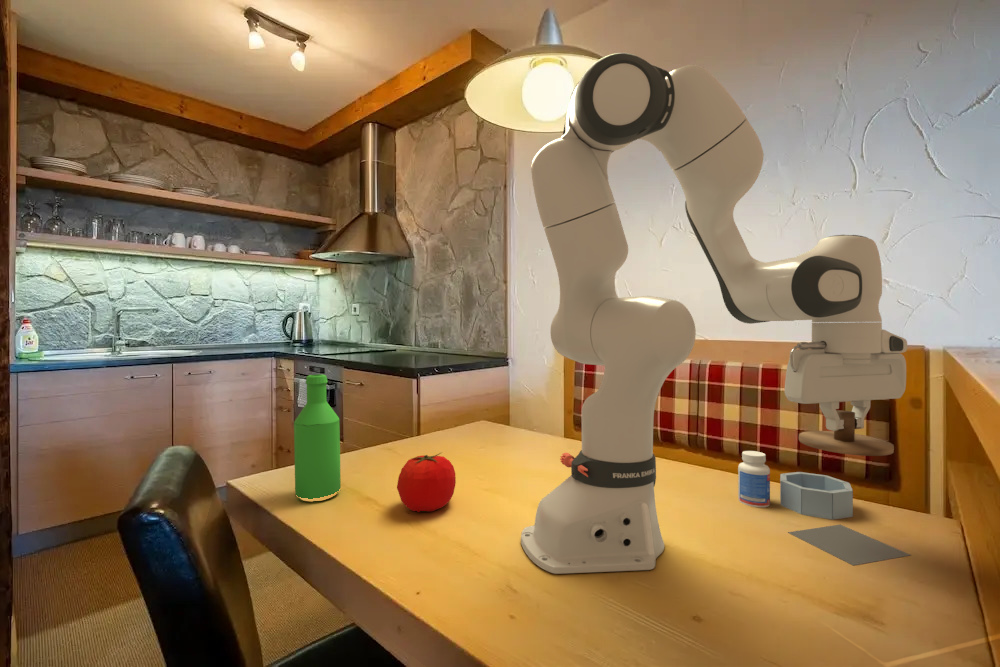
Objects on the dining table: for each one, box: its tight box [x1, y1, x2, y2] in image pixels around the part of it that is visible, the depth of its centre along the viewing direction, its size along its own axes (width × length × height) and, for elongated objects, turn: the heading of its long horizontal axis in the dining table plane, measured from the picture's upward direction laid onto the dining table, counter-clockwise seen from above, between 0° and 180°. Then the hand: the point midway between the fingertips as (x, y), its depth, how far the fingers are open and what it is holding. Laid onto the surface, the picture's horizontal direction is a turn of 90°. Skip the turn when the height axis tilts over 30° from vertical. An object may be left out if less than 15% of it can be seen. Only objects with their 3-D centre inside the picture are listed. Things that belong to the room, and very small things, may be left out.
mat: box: [787, 524, 912, 566], centre depth 73 cm, size 11×11×1 cm
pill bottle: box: [737, 450, 771, 508], centre depth 91 cm, size 6×5×10 cm
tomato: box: [396, 452, 457, 513], centre depth 91 cm, size 11×13×10 cm
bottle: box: [293, 373, 342, 499], centre depth 97 cm, size 9×9×25 cm
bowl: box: [779, 471, 854, 521], centre depth 88 cm, size 11×11×5 cm
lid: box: [798, 409, 895, 457], centre depth 74 cm, size 12×12×5 cm
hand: (844, 429), depth 74 cm, fingers closed on lid, 3 cm apart
